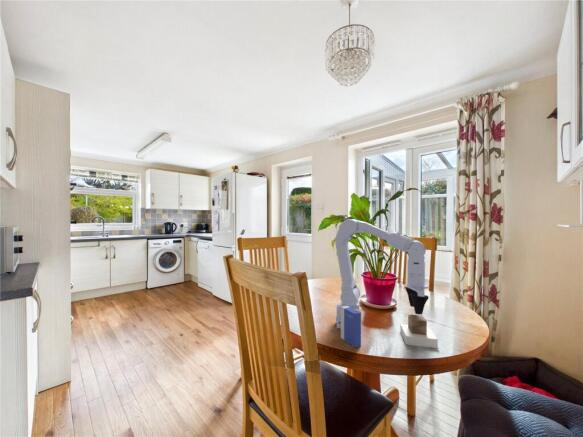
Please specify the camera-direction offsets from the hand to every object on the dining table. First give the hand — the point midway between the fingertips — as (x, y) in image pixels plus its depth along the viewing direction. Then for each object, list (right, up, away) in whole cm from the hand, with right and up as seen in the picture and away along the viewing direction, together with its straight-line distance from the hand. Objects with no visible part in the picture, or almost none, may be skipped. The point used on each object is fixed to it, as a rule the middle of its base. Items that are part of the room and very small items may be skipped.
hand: (415, 310), depth 91 cm
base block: (0, -10, -1) cm, 10 cm away
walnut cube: (0, -7, -1) cm, 7 cm away
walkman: (-25, -11, -3) cm, 27 cm away
